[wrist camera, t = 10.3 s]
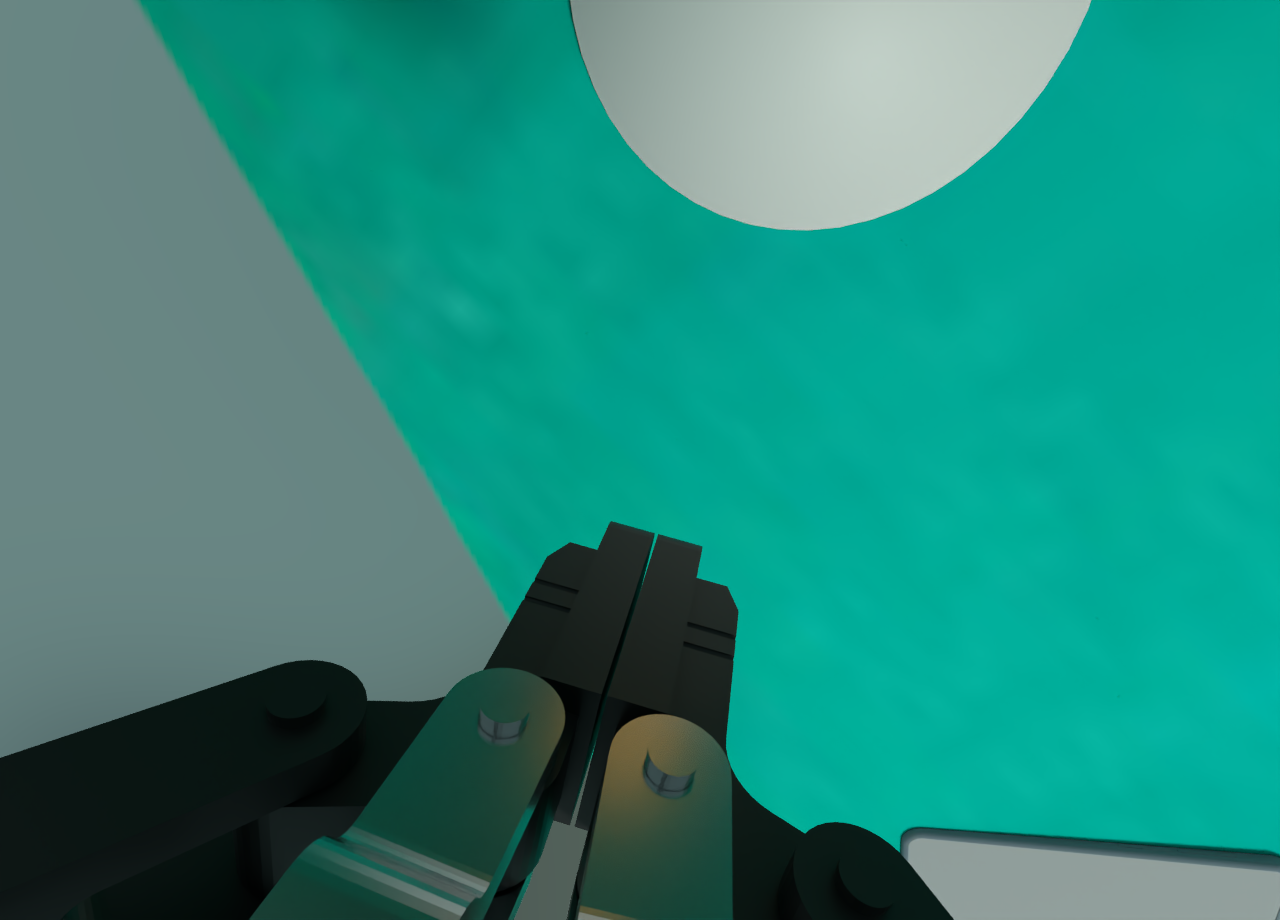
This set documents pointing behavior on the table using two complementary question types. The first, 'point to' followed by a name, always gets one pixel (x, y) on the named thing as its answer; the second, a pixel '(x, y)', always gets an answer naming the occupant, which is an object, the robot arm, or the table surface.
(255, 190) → the table surface
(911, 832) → the smartphone
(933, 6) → the disc
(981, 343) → the table surface
